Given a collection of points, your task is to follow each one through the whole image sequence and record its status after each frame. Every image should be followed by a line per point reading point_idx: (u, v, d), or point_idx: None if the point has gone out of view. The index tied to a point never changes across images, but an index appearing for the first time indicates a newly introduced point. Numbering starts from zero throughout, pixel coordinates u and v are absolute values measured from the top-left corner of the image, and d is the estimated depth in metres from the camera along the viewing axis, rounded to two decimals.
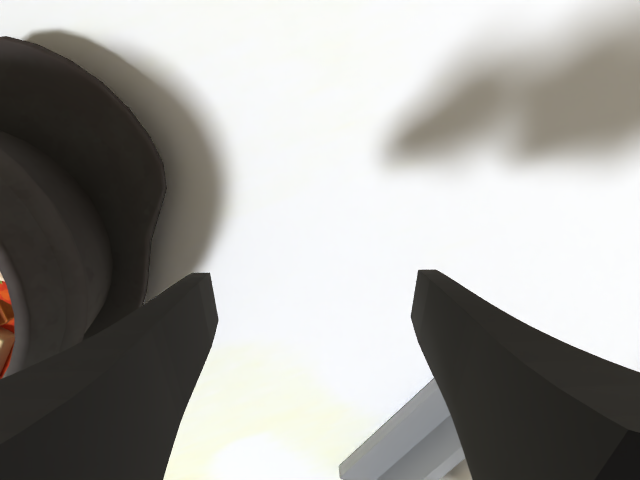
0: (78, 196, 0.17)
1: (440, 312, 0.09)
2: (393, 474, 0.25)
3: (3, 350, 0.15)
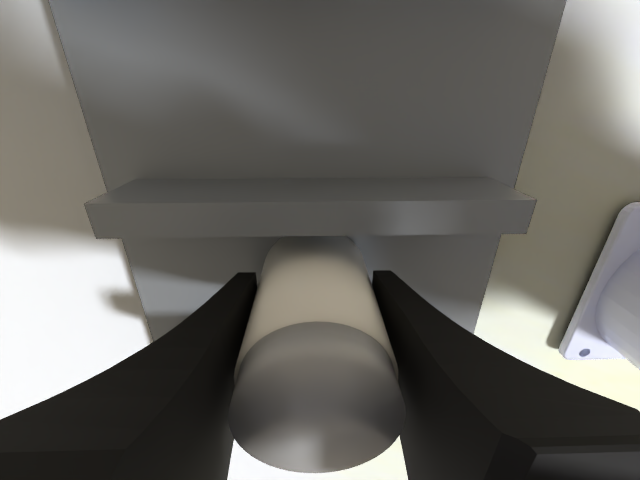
0: None
1: (387, 313, 0.09)
2: None
3: None
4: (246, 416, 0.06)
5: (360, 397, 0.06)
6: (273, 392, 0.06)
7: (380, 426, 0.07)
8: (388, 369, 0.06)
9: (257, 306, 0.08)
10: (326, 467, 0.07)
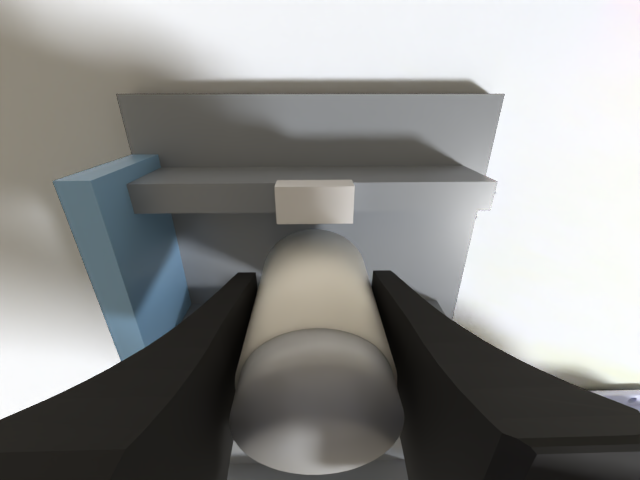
0: None
1: (387, 313, 0.09)
2: None
3: None
4: (247, 421, 0.07)
5: (359, 403, 0.06)
6: (274, 398, 0.06)
7: (379, 431, 0.07)
8: (387, 376, 0.06)
9: (257, 310, 0.08)
10: (325, 469, 0.07)
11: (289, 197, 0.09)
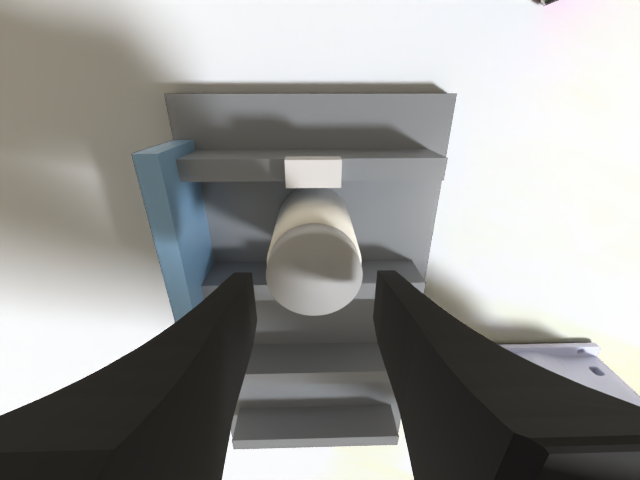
0: None
1: (392, 313, 0.09)
2: None
3: None
4: (276, 272, 0.12)
5: (337, 260, 0.12)
6: (290, 256, 0.12)
7: (349, 281, 0.12)
8: (352, 247, 0.12)
9: (278, 224, 0.14)
10: (319, 311, 0.13)
11: (295, 168, 0.13)
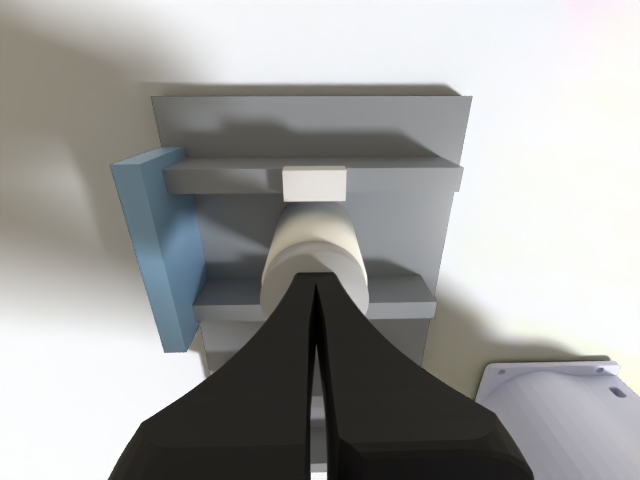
0: None
1: (318, 314, 0.09)
2: None
3: None
4: (271, 297, 0.11)
5: None
6: (287, 279, 0.10)
7: None
8: (357, 267, 0.10)
9: (275, 240, 0.12)
10: None
11: (294, 179, 0.12)
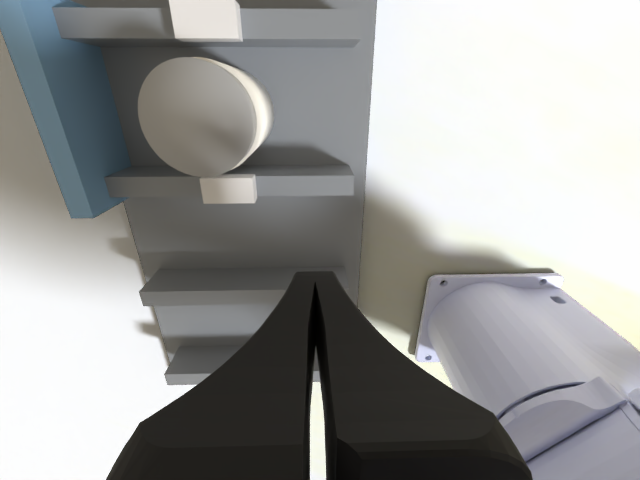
0: None
1: (318, 314, 0.09)
2: None
3: None
4: (150, 114, 0.10)
5: (218, 97, 0.10)
6: (163, 91, 0.10)
7: (237, 127, 0.11)
8: (237, 83, 0.10)
9: None
10: (210, 170, 0.11)
11: (182, 10, 0.11)
